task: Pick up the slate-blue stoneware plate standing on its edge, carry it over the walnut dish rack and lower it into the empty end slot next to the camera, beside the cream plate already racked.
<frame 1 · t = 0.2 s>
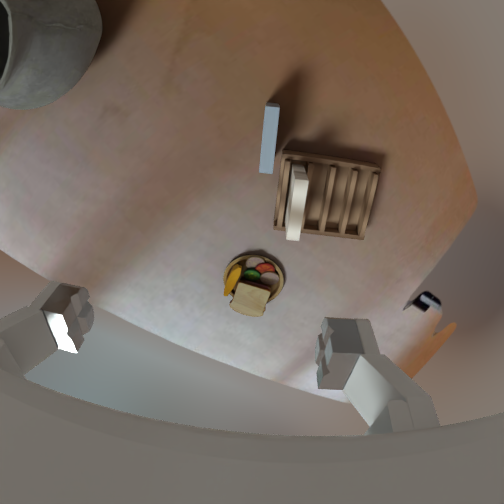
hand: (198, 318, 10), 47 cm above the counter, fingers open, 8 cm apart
toy sandwich meal: (254, 279, 68), on the counter
ceramic pot: (68, 43, 43), on the counter
plate: (269, 131, 51), on the counter
rack: (324, 192, 56), on the counter
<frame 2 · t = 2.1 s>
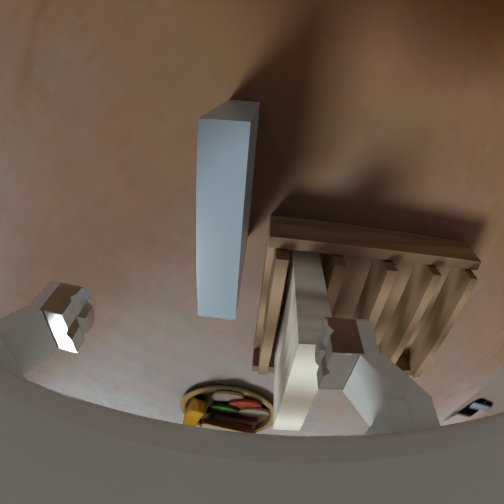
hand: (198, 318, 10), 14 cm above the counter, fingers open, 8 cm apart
toy sandwich meal: (230, 407, 38), on the counter
plate: (239, 171, 22), on the counter
rack: (357, 299, 27), on the counter
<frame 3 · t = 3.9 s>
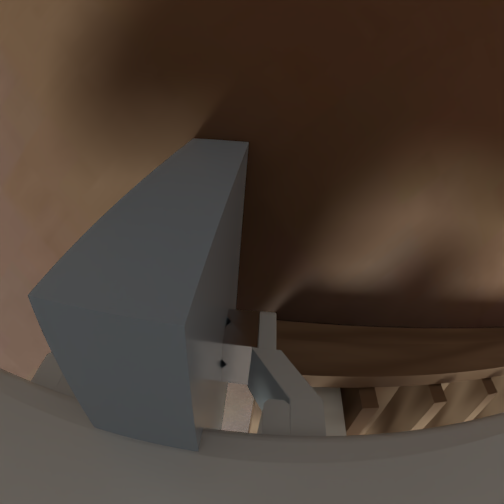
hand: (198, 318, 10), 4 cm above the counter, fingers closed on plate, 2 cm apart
plate: (215, 259, 13), on the counter, touching gripper
rack: (380, 401, 18), on the counter
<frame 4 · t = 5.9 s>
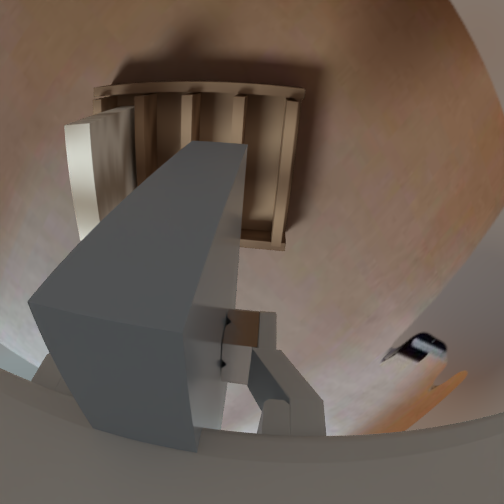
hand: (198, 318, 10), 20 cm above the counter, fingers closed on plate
plate: (214, 261, 13), point 16 cm above the counter, touching gripper
rack: (197, 157, 27), on the counter
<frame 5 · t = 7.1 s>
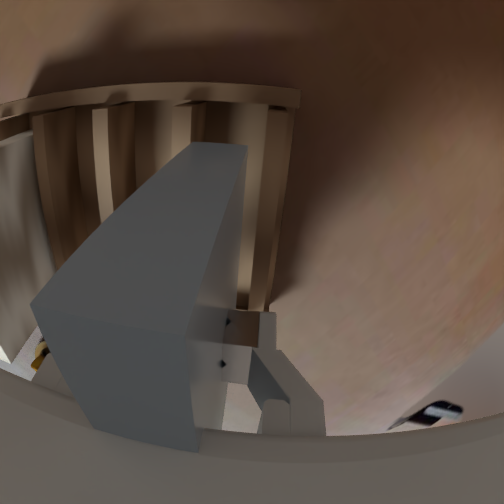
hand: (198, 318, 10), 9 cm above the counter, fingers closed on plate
plate: (215, 262, 13), point 6 cm above the counter, touching gripper
rack: (139, 199, 18), on the counter
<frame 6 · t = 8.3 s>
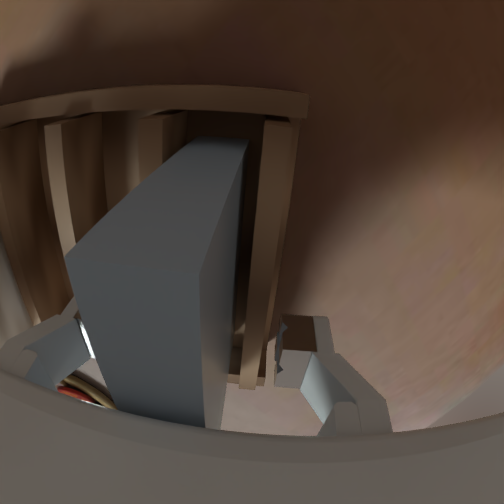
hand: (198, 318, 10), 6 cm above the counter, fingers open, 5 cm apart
toy sandwich meal: (81, 402, 26), on the counter
plate: (217, 249, 14), point 1 cm above the counter, touching rack
rack: (114, 226, 15), on the counter
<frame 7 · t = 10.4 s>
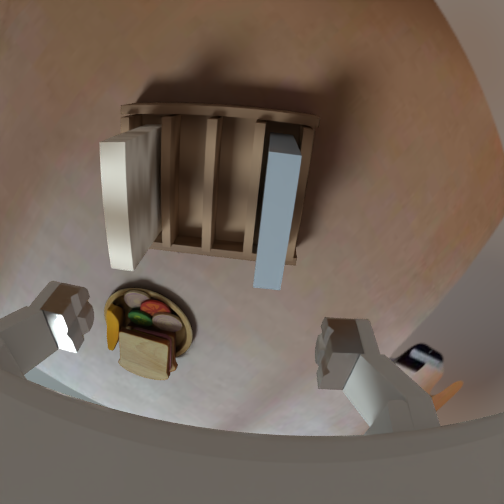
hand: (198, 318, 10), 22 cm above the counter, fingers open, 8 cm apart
toy sandwich meal: (152, 324, 41), on the counter
plate: (275, 186, 29), point 1 cm above the counter, touching rack
rack: (216, 176, 30), on the counter
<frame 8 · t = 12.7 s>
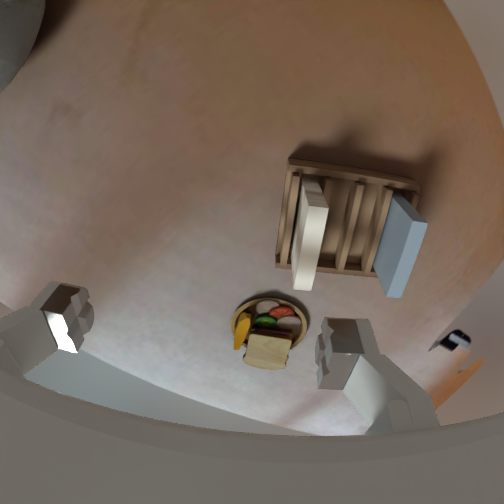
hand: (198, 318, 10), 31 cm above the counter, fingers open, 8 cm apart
toy sandwich meal: (270, 325, 53), on the counter
ceramic pot: (15, 29, 28), on the counter
plate: (384, 226, 40), point 1 cm above the counter, touching rack
rack: (343, 217, 41), on the counter
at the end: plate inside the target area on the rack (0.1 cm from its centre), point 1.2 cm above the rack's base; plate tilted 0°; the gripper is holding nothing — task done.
